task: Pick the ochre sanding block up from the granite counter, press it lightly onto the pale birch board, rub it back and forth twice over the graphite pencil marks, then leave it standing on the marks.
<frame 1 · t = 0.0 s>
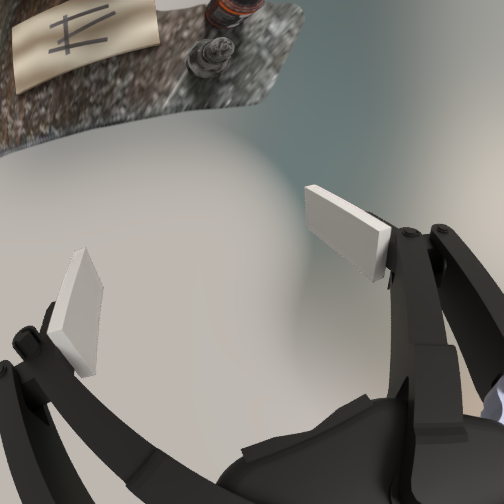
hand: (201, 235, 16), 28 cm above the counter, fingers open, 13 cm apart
grey chess piece: (204, 62, 34), on the counter
birch board: (80, 31, 24), on the counter
supplement bottle: (224, 13, 31), on the counter
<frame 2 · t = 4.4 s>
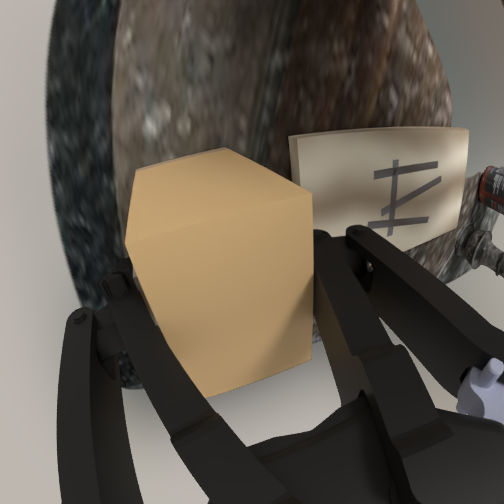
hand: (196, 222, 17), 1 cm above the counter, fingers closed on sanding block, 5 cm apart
sanding block: (193, 217, 18), on the counter, touching gripper
grey chess piece: (463, 238, 32), on the counter
birch board: (398, 191, 23), on the counter
supplement bottle: (484, 183, 29), on the counter
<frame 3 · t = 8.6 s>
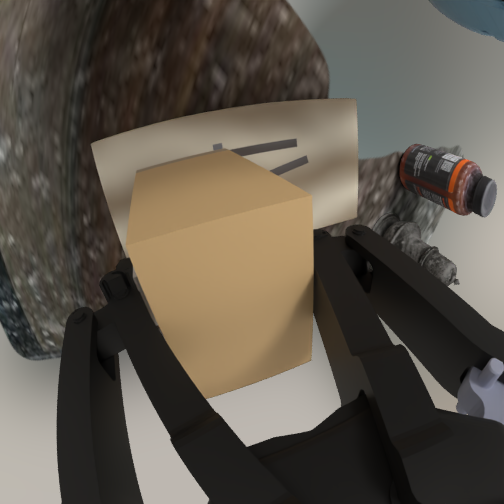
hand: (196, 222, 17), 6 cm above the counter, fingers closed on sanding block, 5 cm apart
sanding block: (194, 218, 18), point 5 cm above the counter, touching gripper
grey chess piece: (384, 231, 33), on the counter
birch board: (243, 178, 23), on the counter
supplement bottle: (411, 165, 29), on the counter
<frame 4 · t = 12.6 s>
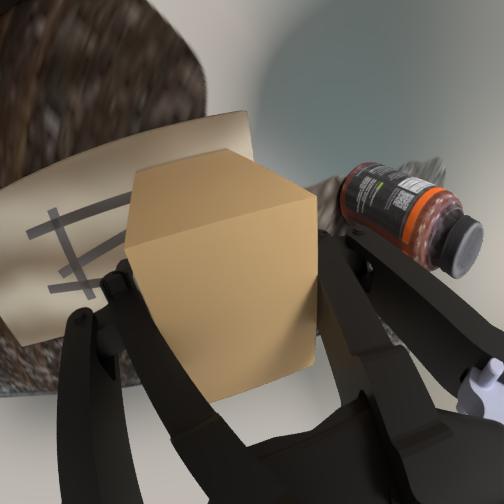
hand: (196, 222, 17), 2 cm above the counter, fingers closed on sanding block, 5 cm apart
sanding block: (194, 219, 18), point 1 cm above the counter, touching gripper
birch board: (99, 240, 17), on the counter
supplement bottle: (362, 192, 23), on the counter
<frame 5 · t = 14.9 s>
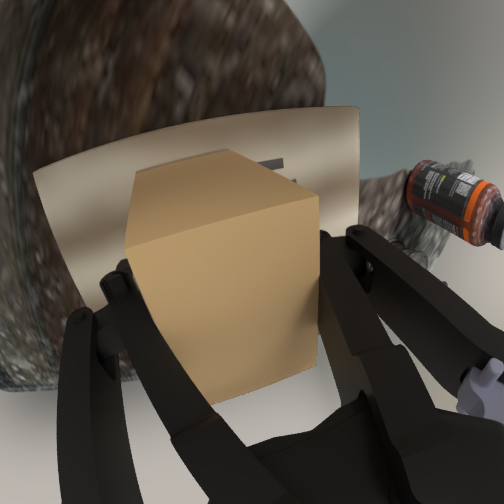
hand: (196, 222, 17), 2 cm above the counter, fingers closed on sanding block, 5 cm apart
sanding block: (195, 220, 18), point 1 cm above the counter, touching gripper
grey chess piece: (386, 259, 29), on the counter
birch board: (217, 207, 19), on the counter
supplement bottle: (419, 184, 25), on the counter
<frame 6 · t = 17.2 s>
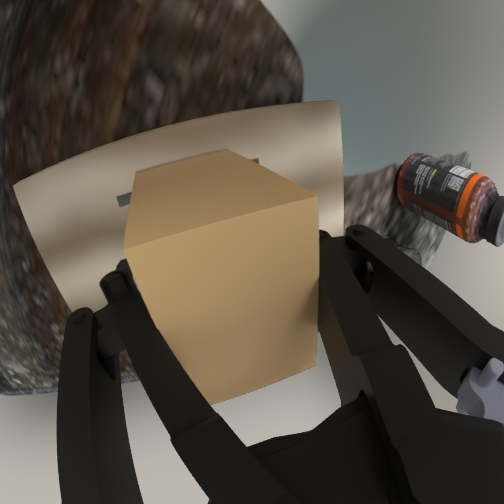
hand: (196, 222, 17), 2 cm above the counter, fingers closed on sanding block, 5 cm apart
sanding block: (194, 220, 18), point 1 cm above the counter, touching gripper
birch board: (194, 211, 19), on the counter
supplement bottle: (411, 179, 25), on the counter
when the fingers open (3 cm above the counter, at t = 21.2 s): sanding block drops 2 cm, resting on birch board.
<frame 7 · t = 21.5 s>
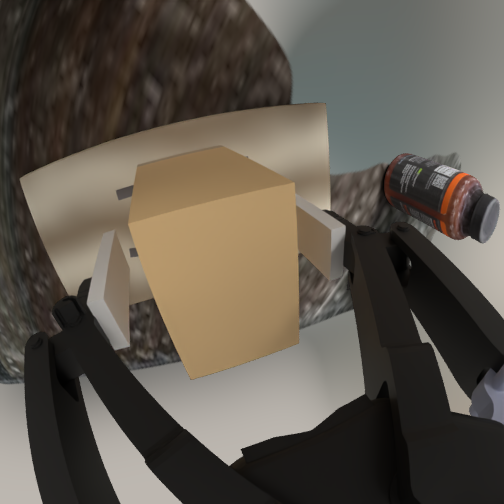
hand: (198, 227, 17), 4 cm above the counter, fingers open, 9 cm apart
sanding block: (190, 210, 19), point 1 cm above the counter, touching birch board
birch board: (188, 205, 20), on the counter
supplement bottle: (399, 178, 26), on the counter
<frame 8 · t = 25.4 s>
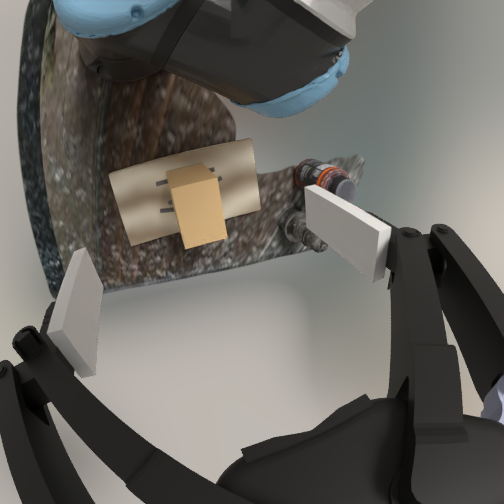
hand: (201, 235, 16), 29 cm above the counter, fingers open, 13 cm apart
sanding block: (188, 191, 42), point 1 cm above the counter, touching birch board
grey chess piece: (290, 219, 52), on the counter
birch board: (187, 189, 43), on the counter
supplement bottle: (307, 173, 49), on the counter
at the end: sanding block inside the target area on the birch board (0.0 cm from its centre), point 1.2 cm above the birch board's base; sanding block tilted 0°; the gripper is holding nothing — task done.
